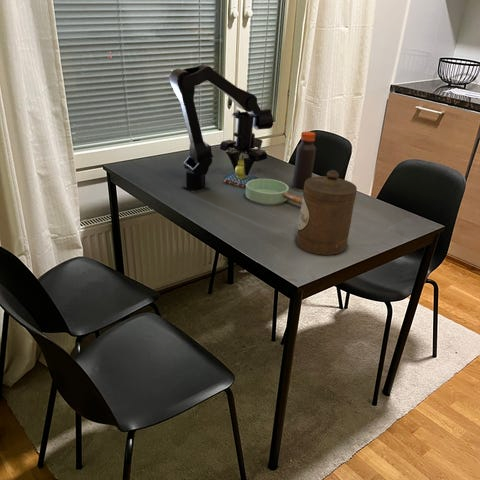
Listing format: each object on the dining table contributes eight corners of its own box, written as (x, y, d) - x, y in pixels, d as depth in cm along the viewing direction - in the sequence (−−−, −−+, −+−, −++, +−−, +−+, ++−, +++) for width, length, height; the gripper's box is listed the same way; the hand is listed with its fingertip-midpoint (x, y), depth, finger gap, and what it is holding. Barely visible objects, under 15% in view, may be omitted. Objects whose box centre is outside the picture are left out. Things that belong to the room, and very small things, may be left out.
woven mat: (246, 189, 180) (247, 184, 179) (222, 183, 184) (222, 177, 183) (259, 181, 188) (260, 176, 187) (235, 175, 192) (236, 170, 191)
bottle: (301, 192, 181) (308, 136, 170) (288, 186, 185) (295, 131, 174) (313, 189, 185) (322, 134, 173) (300, 183, 189) (308, 129, 178)
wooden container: (303, 229, 154) (314, 159, 141) (350, 239, 150) (365, 168, 138) (290, 248, 143) (300, 174, 130) (340, 260, 139) (355, 184, 126)
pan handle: (309, 208, 163) (310, 203, 162) (281, 198, 169) (282, 192, 168) (313, 207, 164) (314, 201, 163) (285, 196, 170) (285, 191, 169)
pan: (268, 208, 166) (270, 197, 164) (236, 195, 174) (237, 184, 172) (295, 198, 176) (297, 187, 173) (264, 186, 184) (265, 175, 181)
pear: (241, 180, 182) (243, 158, 177) (232, 176, 185) (233, 154, 180) (250, 177, 185) (252, 155, 180) (240, 174, 188) (242, 152, 183)
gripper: (278, 133, 175) (274, 176, 184) (240, 121, 185) (238, 163, 194) (258, 137, 168) (254, 182, 177) (219, 125, 178) (218, 168, 187)
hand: (241, 173), depth 184 cm, fingers closed on pear, 5 cm apart
